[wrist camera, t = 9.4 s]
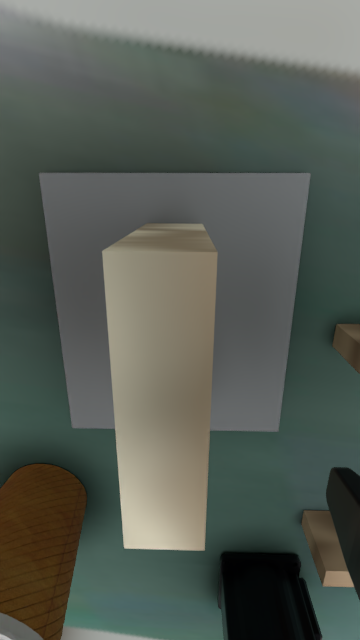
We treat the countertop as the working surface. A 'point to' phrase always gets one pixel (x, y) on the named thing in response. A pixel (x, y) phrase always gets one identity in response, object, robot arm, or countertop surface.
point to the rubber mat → (231, 282)
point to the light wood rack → (318, 526)
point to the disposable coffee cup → (38, 550)
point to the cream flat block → (162, 380)
